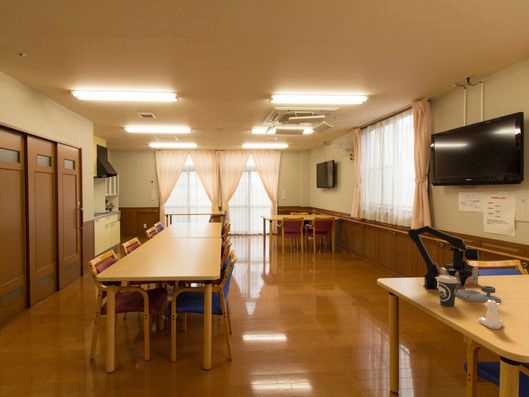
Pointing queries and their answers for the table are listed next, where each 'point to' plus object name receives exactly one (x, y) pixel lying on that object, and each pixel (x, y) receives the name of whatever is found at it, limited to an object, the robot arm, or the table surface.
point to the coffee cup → (447, 290)
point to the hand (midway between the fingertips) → (457, 284)
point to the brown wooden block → (459, 287)
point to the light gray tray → (476, 295)
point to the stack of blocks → (469, 280)
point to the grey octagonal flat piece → (488, 289)
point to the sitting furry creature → (491, 315)
